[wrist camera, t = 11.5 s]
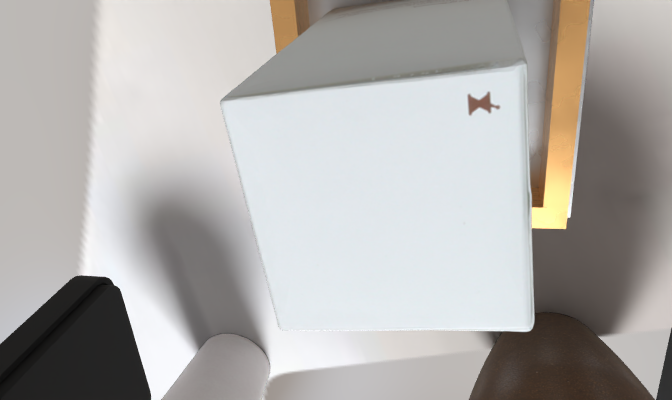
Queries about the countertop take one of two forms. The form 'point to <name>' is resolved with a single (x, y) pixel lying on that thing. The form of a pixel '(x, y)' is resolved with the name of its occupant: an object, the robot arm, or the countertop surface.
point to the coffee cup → (223, 371)
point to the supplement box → (392, 169)
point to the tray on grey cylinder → (543, 86)
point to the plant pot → (555, 366)
